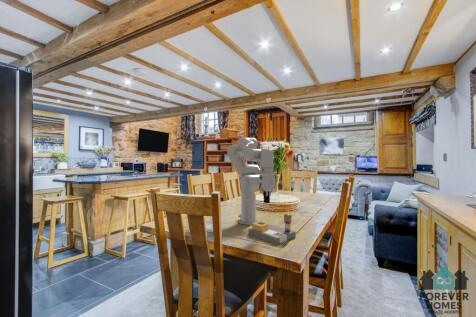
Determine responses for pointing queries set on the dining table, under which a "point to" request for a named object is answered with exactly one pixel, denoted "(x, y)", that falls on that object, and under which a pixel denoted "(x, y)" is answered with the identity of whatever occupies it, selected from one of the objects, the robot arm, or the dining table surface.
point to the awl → (287, 222)
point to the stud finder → (260, 226)
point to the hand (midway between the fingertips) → (266, 202)
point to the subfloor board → (273, 234)
